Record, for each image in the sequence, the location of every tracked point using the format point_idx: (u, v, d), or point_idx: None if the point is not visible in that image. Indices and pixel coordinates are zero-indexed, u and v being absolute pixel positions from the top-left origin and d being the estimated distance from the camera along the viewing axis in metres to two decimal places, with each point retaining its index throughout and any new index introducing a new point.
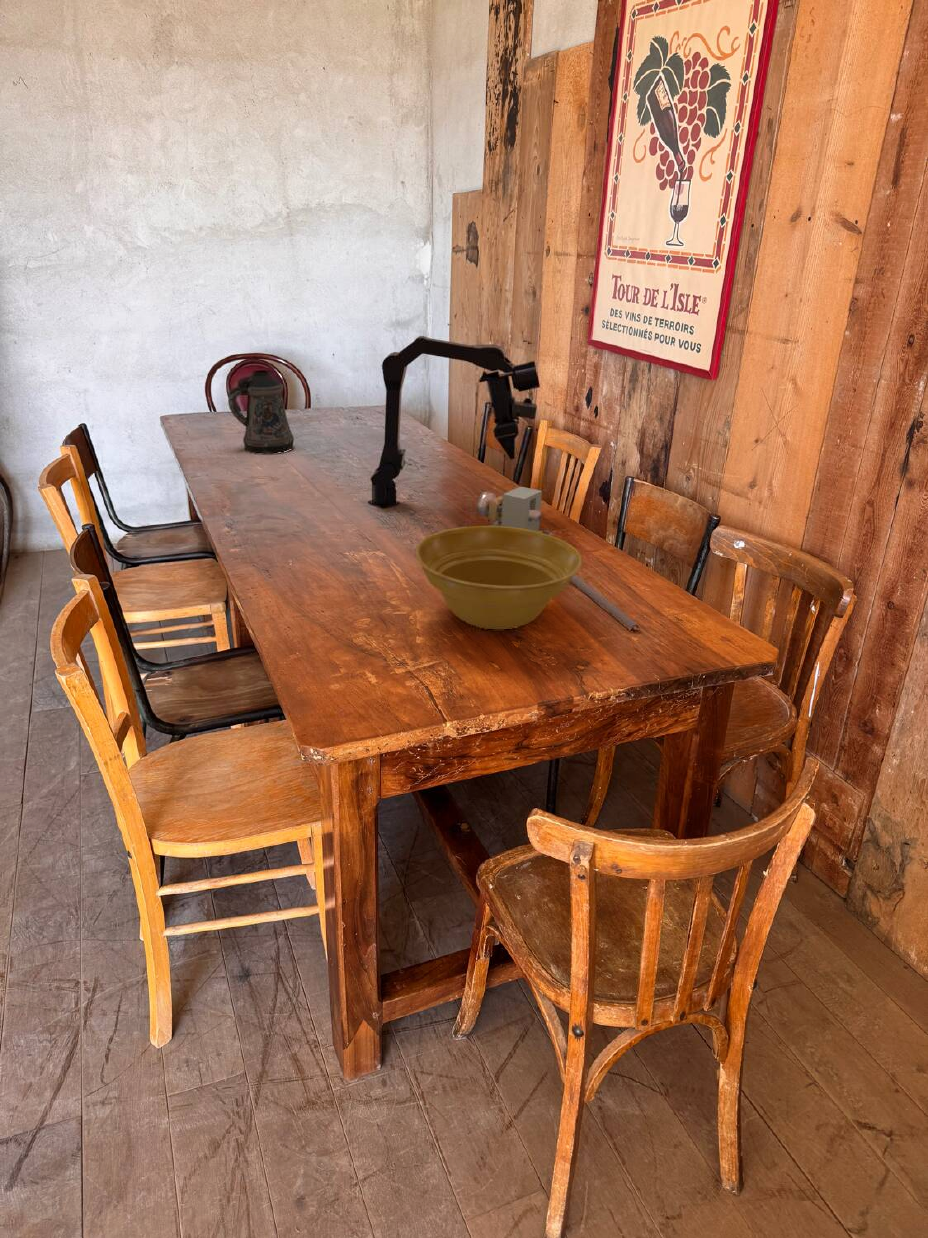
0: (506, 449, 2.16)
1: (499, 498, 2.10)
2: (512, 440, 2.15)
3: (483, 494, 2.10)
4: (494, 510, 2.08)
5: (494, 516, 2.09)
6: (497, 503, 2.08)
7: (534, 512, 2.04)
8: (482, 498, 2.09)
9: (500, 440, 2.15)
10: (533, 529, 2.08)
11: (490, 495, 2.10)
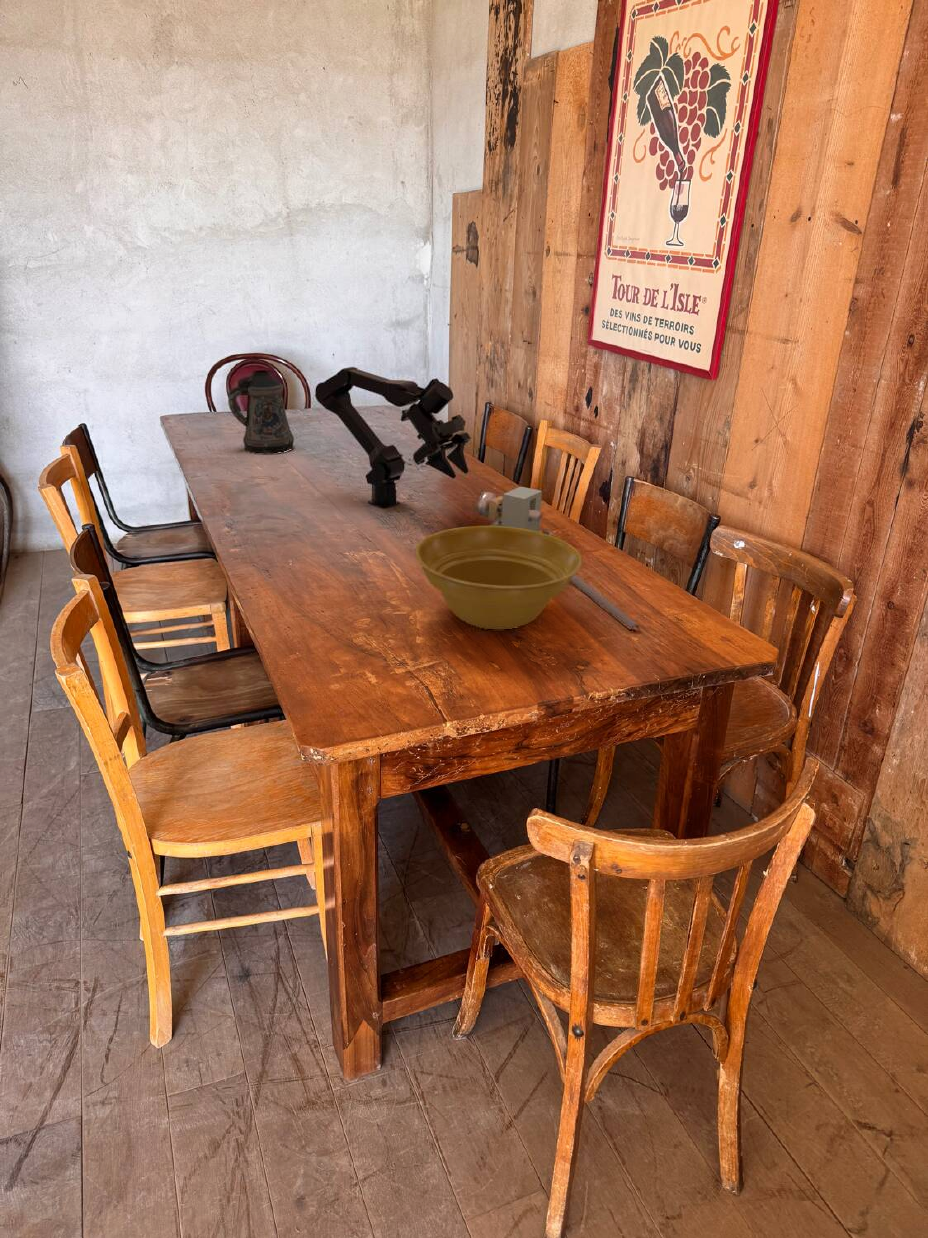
0: (443, 470, 2.11)
1: (499, 498, 2.10)
2: (442, 459, 2.09)
3: (483, 494, 2.10)
4: (494, 510, 2.08)
5: (494, 516, 2.09)
6: (497, 503, 2.08)
7: (534, 512, 2.04)
8: (482, 498, 2.09)
9: (432, 464, 2.11)
10: (533, 529, 2.08)
11: (490, 495, 2.10)
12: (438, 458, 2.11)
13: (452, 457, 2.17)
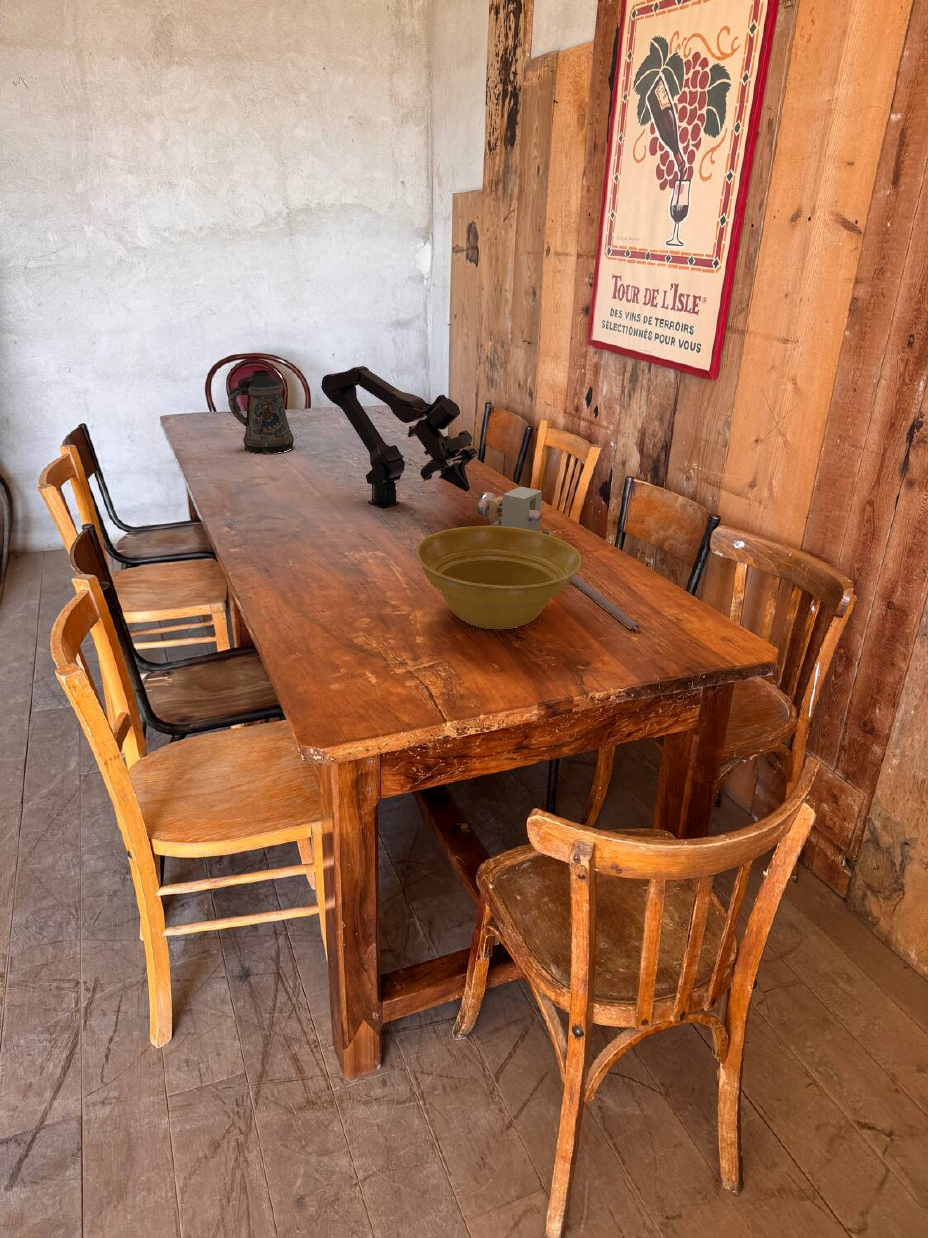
0: (456, 483, 2.13)
1: (499, 498, 2.10)
2: (455, 473, 2.12)
3: (483, 494, 2.10)
4: (494, 510, 2.08)
5: (494, 516, 2.09)
6: (497, 503, 2.08)
7: (534, 512, 2.04)
8: (482, 498, 2.09)
9: (445, 478, 2.14)
10: (533, 529, 2.08)
11: (490, 495, 2.10)
12: (451, 472, 2.13)
13: None
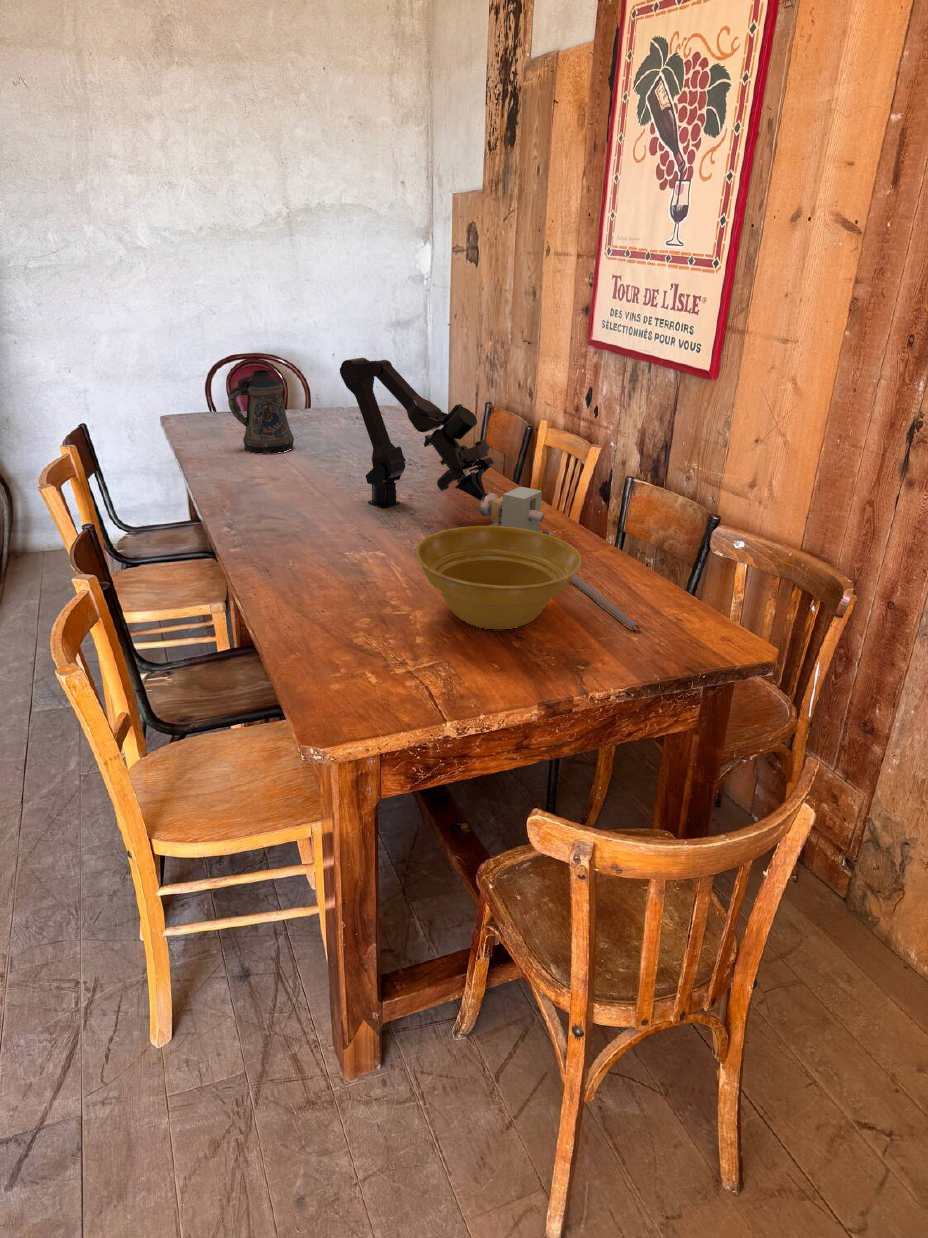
0: (472, 493, 2.12)
1: (501, 499, 2.09)
2: (471, 483, 2.10)
3: (485, 495, 2.10)
4: (496, 511, 2.08)
5: (496, 517, 2.08)
6: (499, 504, 2.07)
7: (536, 513, 2.04)
8: (485, 499, 2.09)
9: (462, 488, 2.12)
10: (533, 529, 2.08)
11: (492, 496, 2.10)
12: (468, 482, 2.11)
13: None
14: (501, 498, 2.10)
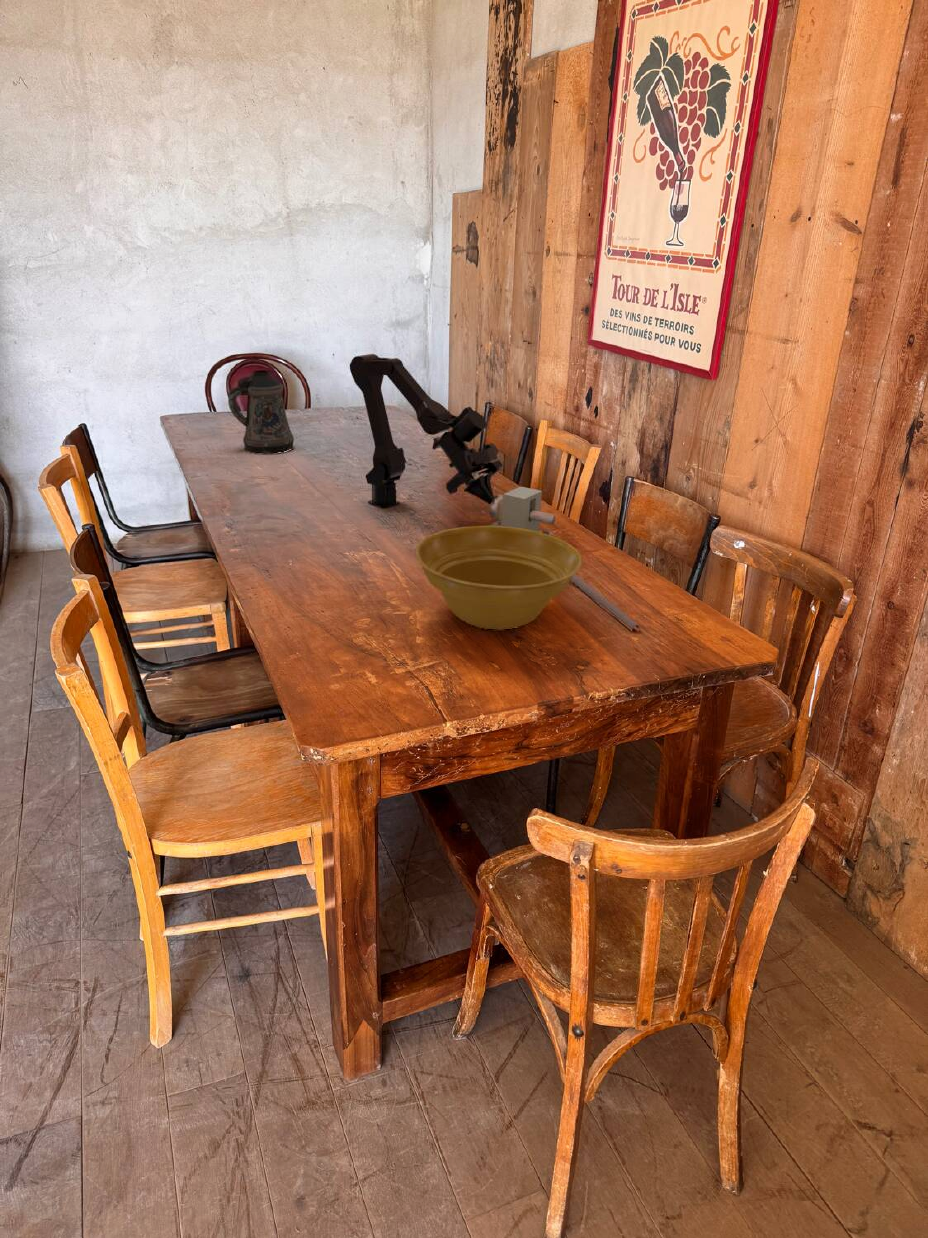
0: (481, 497, 2.10)
1: None
2: (480, 486, 2.09)
3: (496, 497, 2.08)
4: None
5: None
6: None
7: (547, 515, 2.02)
8: (495, 501, 2.07)
9: (471, 491, 2.11)
10: (533, 529, 2.08)
11: None
12: (477, 485, 2.10)
13: None
14: None
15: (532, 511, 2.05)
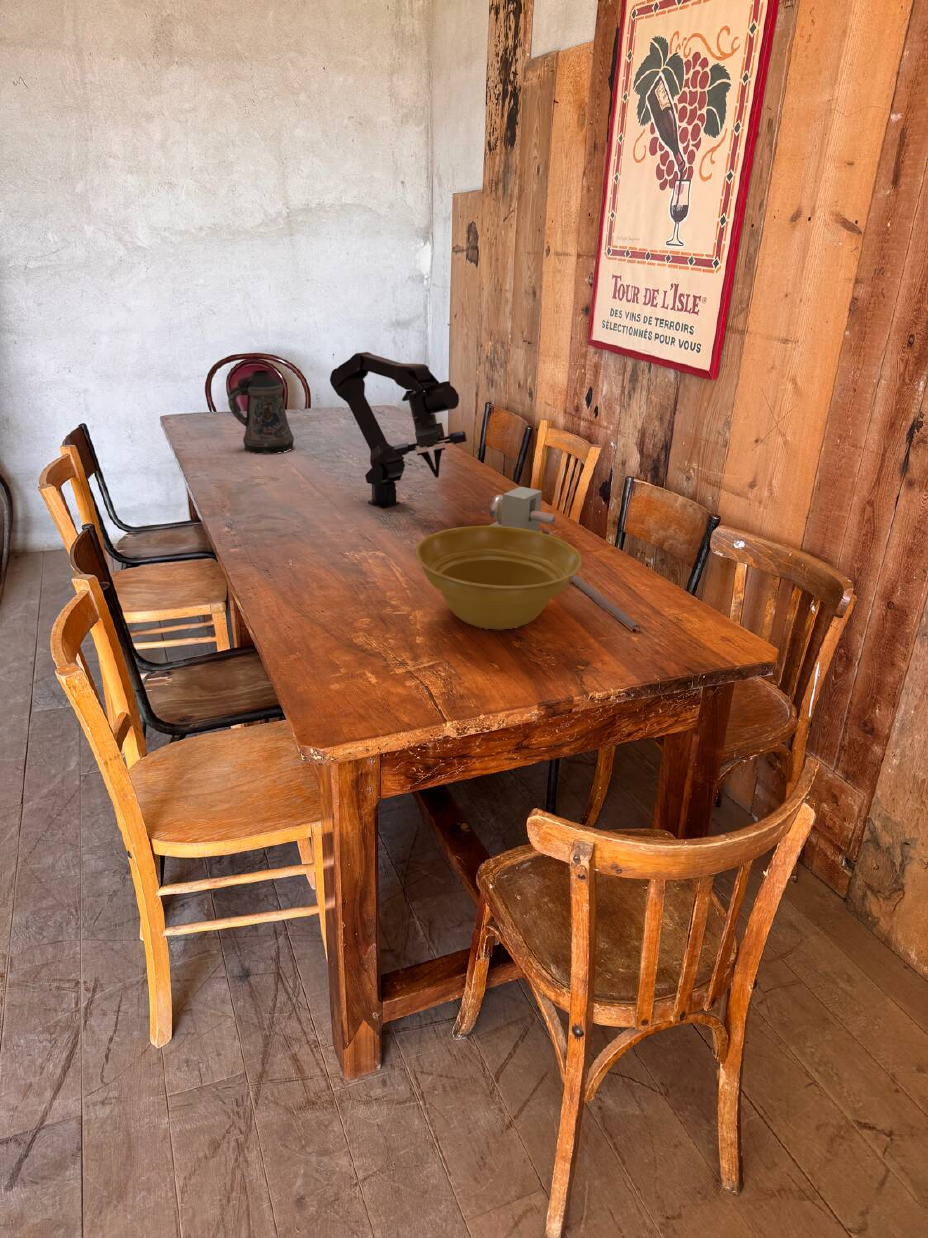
0: None
1: None
2: None
3: (496, 497, 2.08)
4: None
5: None
6: None
7: (547, 515, 2.02)
8: (495, 501, 2.07)
9: None
10: (533, 529, 2.08)
11: None
12: None
13: None
14: None
15: (532, 511, 2.05)
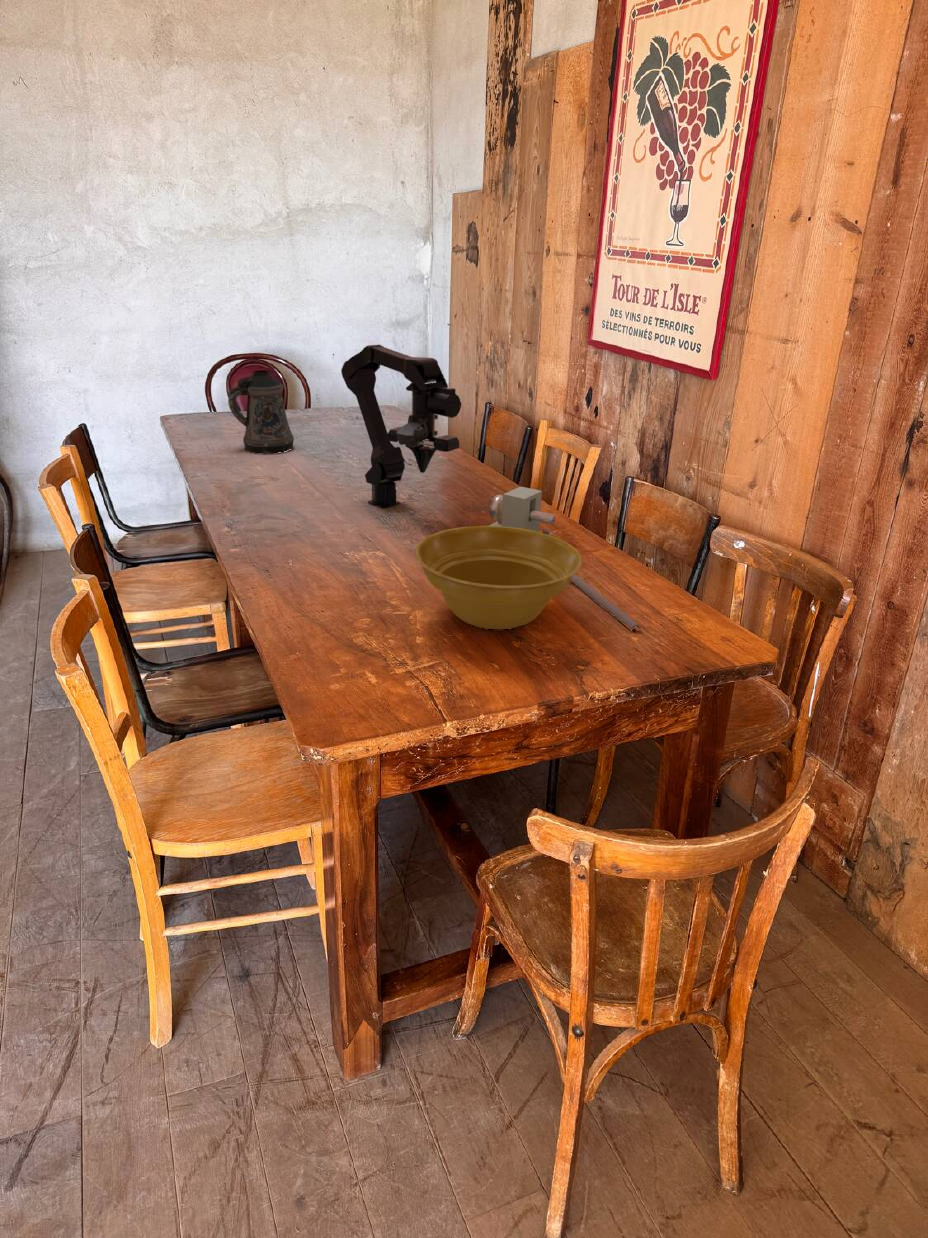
0: None
1: None
2: None
3: (496, 497, 2.08)
4: None
5: None
6: None
7: (547, 515, 2.02)
8: (495, 501, 2.07)
9: None
10: (533, 529, 2.08)
11: None
12: None
13: None
14: None
15: (532, 511, 2.05)
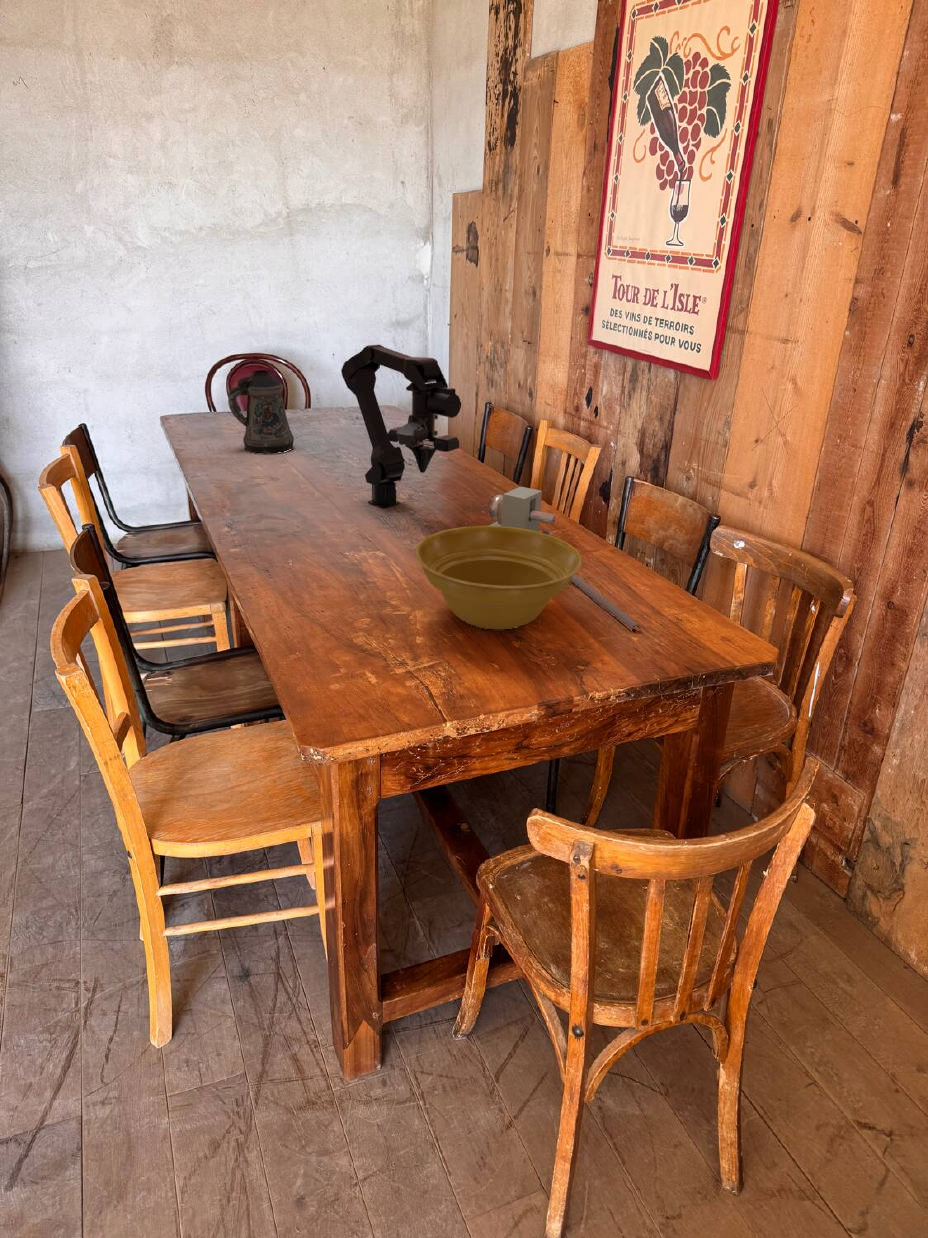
0: None
1: None
2: None
3: (496, 497, 2.08)
4: None
5: None
6: None
7: (547, 515, 2.02)
8: (495, 501, 2.07)
9: None
10: (533, 529, 2.08)
11: None
12: None
13: None
14: None
15: (532, 511, 2.05)
